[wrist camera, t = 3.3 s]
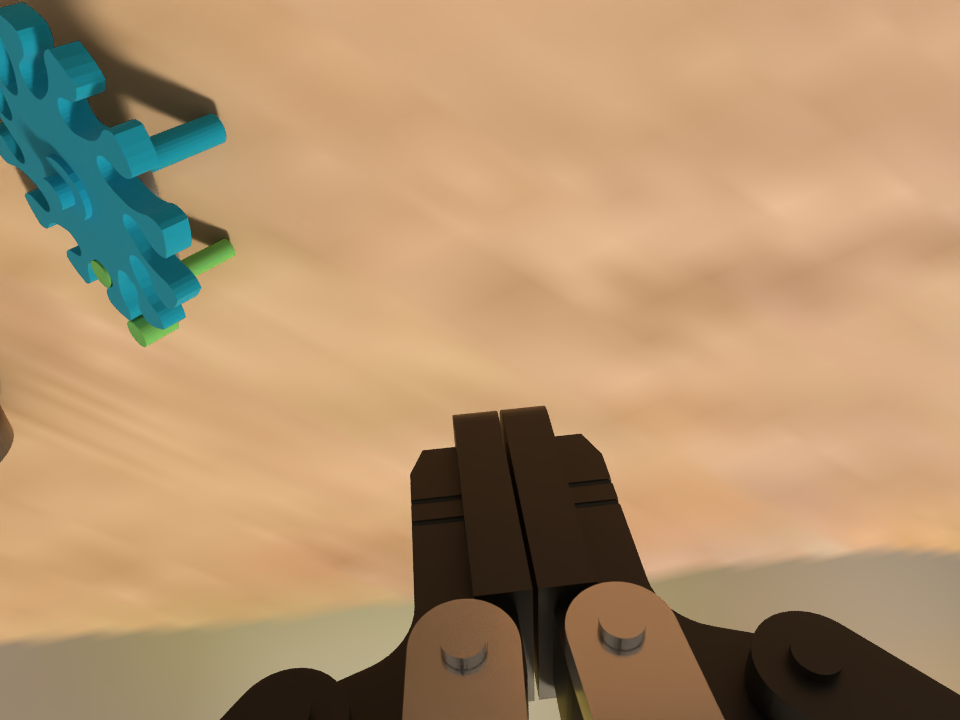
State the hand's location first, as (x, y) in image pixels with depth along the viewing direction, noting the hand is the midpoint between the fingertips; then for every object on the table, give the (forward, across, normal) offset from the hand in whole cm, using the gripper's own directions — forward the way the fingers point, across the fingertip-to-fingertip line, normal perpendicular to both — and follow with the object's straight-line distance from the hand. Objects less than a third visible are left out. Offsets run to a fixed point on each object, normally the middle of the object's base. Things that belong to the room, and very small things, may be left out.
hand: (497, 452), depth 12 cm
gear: (+18, +11, 0) cm, 21 cm away
